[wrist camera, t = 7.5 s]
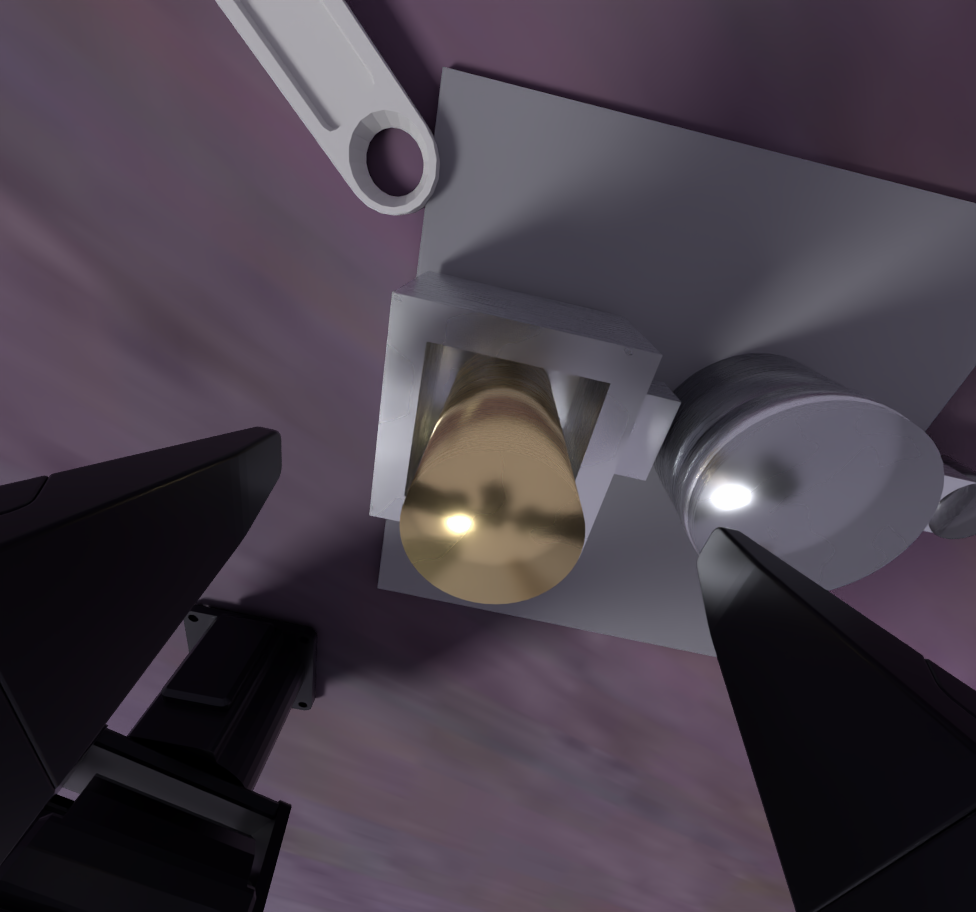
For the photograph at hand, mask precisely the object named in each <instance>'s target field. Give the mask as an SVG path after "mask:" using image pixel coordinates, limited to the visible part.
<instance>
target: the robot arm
mask: <svg viewBox="0 0 976 912" xmlns="http://www.w3.org/2000/svg"><path fill="white" fill-rule="evenodd" d="M281 468H282V457H281V436H280V433H279V432H278V431H276V430H273V429H268V428H263V427H253V428H248V429H244V430H240V431H236V432H231V433H227V434H223V435H218V436H214V437H210V438H205V439H201V440H197V441H192V442H188V443H184V444H179V445H175V446H171V447H166V448H162V449H158V450H153V451H149V452H145V453H140V454H136V455H132V456H127V457H123V458H119V459H114V460H110V461H106V462H101V463H97V464H93V465H88V466H84V467H80V468H75V469H71V470H67V471H62V472H58V473H54V474H51V475H50V476H49V477H47V476H40V477H36V478H32V479H27V480H23V481H19V482H14V483H10V484H5V485H1V486H0V912H263V910H264V907H265V903H266V899H267V896H268V892H269V888H270V885H271V881H272V877H273V873H274V870H275V866H276V862H277V859H278V855H279V851H280V847H281V844H282V840H283V836H284V833H285V829H286V825H287V822H288V818H289V814H290V810H291V804H288V803H286V802H284V801H281V800H280V801H278V802H277V801H274V800H272V799H270V798H268V797H265V796H263V795H261V794H258V793H256V792H254V791H253V789H254V787H255V785H256V783H257V781H258V779H259V776H260V774H261V772H262V770H263V768H264V766H265V764H266V761H267V759H268V757H269V755H270V753H271V751H272V749H273V746H274V744H275V742H276V740H277V738H278V736H279V733H280V731H281V729H282V727H283V725H284V723H285V721H286V718H287V716H288V714H289V712H290V710H291V708H295V709H300V710H309V709H311V707H312V705H313V702H314V700H315V677H316V650H317V633H316V632H315V630H313V629H312V628H309V627H305V626H300V625H295V624H290V623H285V622H280V621H275V620H270V619H265V618H260V617H255V616H250V615H245V614H240V613H235V612H230V611H225V610H220V609H215V608H209V607H204V606H199V605H195V603H196V602H197V601H198V599H199V598H200V597H201V595H202V594H203V593H204V591H205V590H206V589H207V587H208V586H209V585H210V583H211V582H212V581H213V579H214V578H215V577H216V575H217V574H218V573H219V571H220V570H221V569H222V567H223V566H224V565H225V563H226V562H227V561H228V559H229V558H230V557H231V555H232V554H233V552H234V551H235V550H236V548H237V547H238V546H239V544H240V543H241V541H242V540H243V539H244V537H245V536H246V534H247V532H248V531H249V529H250V527H251V526H252V524H253V522H254V520H255V519H256V517H257V515H258V513H259V512H260V510H261V508H262V507H263V505H264V503H265V501H266V500H267V498H268V496H269V494H270V493H271V491H272V489H273V487H274V486H275V484H276V482H277V480H278V479H279V476H280V473H281ZM697 571H698V577H699V582H700V587H701V592H702V597H703V602H704V607H705V612H706V618H707V623H708V627H709V631H710V635H711V639H712V642H713V646H714V649H715V652H716V656H717V659H718V662H719V665H720V669H721V672H722V675H723V678H724V681H725V685H726V688H727V691H728V694H729V698H730V701H731V704H732V707H733V711H734V714H735V717H736V720H737V723H738V727H739V730H740V733H741V736H742V740H743V743H744V746H745V749H746V752H747V756H748V759H749V762H750V765H751V769H752V772H753V775H754V778H755V782H756V785H757V788H758V791H759V794H760V798H761V801H762V804H763V807H764V811H765V814H766V817H767V820H768V823H769V827H770V830H771V833H772V836H773V840H774V843H775V846H776V849H777V853H778V856H779V859H780V862H781V865H782V869H783V872H784V875H785V878H786V882H787V885H788V888H789V891H790V894H791V898H792V901H793V904H794V907H795V911H796V912H976V691H975V690H974V689H972V688H971V687H969V686H968V685H966V684H965V683H963V682H962V681H960V680H959V679H957V678H956V677H954V676H953V675H951V674H950V673H948V672H947V671H945V670H944V669H942V668H941V667H939V666H938V665H936V664H935V663H933V662H932V661H930V660H929V659H924V657H923V655H921V654H920V653H918V652H917V651H916V650H914V649H913V648H911V647H910V646H908V645H907V644H905V643H904V642H902V641H901V640H899V639H898V638H896V637H895V636H893V635H892V634H890V633H889V632H888V631H886V630H885V629H883V628H882V627H880V626H879V625H877V624H876V623H874V622H873V621H871V620H870V619H868V618H867V617H865V616H864V615H862V614H861V613H860V612H858V611H857V610H855V609H854V608H852V607H851V606H849V605H848V604H846V603H845V602H843V601H842V600H840V599H839V598H837V597H836V596H834V595H833V594H832V593H830V592H829V591H827V590H826V589H824V588H823V587H821V586H820V585H818V584H817V583H815V582H814V581H812V580H811V579H809V578H808V577H806V576H805V575H804V574H802V573H801V572H799V571H798V570H796V569H795V568H793V567H792V566H790V565H789V564H787V563H786V562H784V561H783V560H781V559H780V558H778V557H777V556H776V555H774V554H773V553H771V552H770V551H768V550H767V549H765V548H764V547H762V546H761V545H759V544H758V543H756V542H755V541H753V540H752V539H750V538H749V537H748V536H746V535H745V534H743V533H742V532H740V531H738V530H734V529H730V528H725V527H718V528H716V529H715V530H713V532H712V533H711V535H710V537H709V538H708V540H707V542H706V544H705V545H704V547H703V549H702V551H701V552H700V554H699V556H698V559H697ZM183 619H184V624H185V630H186V636H187V642H188V647H189V654H188V655H187V656H186V658H185V659H184V660H183V662H182V663H181V664H180V666H179V667H178V668H177V670H176V671H175V672H174V674H173V675H172V676H171V678H170V679H169V680H168V682H167V683H166V684H165V686H164V687H163V688H162V690H161V692H160V693H159V694H158V696H157V697H156V698H155V700H154V701H153V702H152V704H151V705H150V706H149V707H148V709H147V710H146V711H145V713H144V714H143V715H142V717H141V718H140V719H139V721H138V722H137V723H136V725H135V726H134V727H133V729H132V730H131V731H130V733H129V734H128V735H127V737H126V736H124V735H122V734H120V733H117V732H115V731H113V730H110V729H108V728H107V726H108V725H106V723H107V721H108V720H109V719H110V717H111V716H112V715H113V713H114V712H115V710H116V709H117V708H118V706H119V705H120V704H121V702H122V701H123V700H124V698H125V697H126V696H127V694H128V693H129V692H130V690H131V689H132V688H133V686H134V685H135V684H136V682H137V681H138V680H139V678H140V677H141V676H142V674H143V673H144V672H145V670H146V669H147V668H148V666H149V665H150V664H151V662H152V661H153V660H154V658H155V657H156V656H157V654H158V653H159V652H160V650H161V649H162V648H163V646H164V645H165V644H166V642H167V641H168V640H169V638H170V637H171V636H172V634H173V633H174V631H175V630H176V629H177V627H178V626H179V625H180V623H181V622H182V621H183ZM62 787H63V788H66V789H69V790H71V791H74V792H76V793H79V794H80V795H79V796H78V798H77V799H76V800H75V801H73V800H70V799H68V798H65V797H62V796H60V795H57V793H58V792H59V791H60V790H61V788H62Z"/></svg>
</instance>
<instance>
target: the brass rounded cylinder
mask: <svg viewBox="0 0 976 912" xmlns="http://www.w3.org/2000/svg"><path fill="white" fill-rule="evenodd" d="M399 527H400V536H401V540H402V544H403V547H404V550H405V552H406V555H407V556H408V558H409V560H410V561H411V563H412V564H413V566H414V567H415V568H416V570H417V571H418V572H419V573H420V574H421V575H422V576H423V577H424V578H425V579H426V580H427V581H429V582H430V583H431V584H433V585H434V586H435V587H437V588H439V589H440V590H442V591H444V592H446V593H448V594H450V595H452V596H455V597H457V598H460V599H463V600H467V601H471V602H476V603H483V604H508V603H515V602H520V601H524V600H528V599H530V598H533V597H536V596H538V595H540V594H542V593H544V592H546V591H548V590H550V589H551V588H553V587H554V586H556V585H557V584H558V583H559V582H560V581H562V580H563V579H564V578H565V577H566V576H567V575H568V574H569V572H570V571H571V570H572V569H573V567H574V566H575V564H576V563H577V561H578V559H579V556H580V554H581V552H582V549H583V545H584V540H585V520H584V515H583V510H582V506H581V502H580V498H579V494H578V490H577V487H576V483H575V479H574V475H573V471H572V467H571V463H570V459H569V455H568V451H567V447H566V443H565V439H564V435H563V431H562V427H561V423H560V420H559V416H558V412H557V408H556V404H555V400H554V396H553V392H552V388H551V384H550V381H549V378H548V375H547V373H546V371H545V370H544V368H541V367H536V366H532V365H528V364H523V363H519V362H515V361H510V360H506V359H502V358H497V357H493V356H488V355H484V354H480V353H476V354H475V355H473V356H472V357H470V358H469V359H468V360H467V361H466V362H465V363H464V364H463V366H462V367H461V368H460V370H459V372H458V373H457V376H456V378H455V380H454V383H453V385H452V388H451V390H450V392H449V395H448V397H447V400H446V402H445V404H444V407H443V409H442V412H441V414H440V416H439V419H438V421H437V424H436V426H435V428H434V431H433V433H432V436H431V438H430V440H429V443H428V445H427V448H426V450H425V452H424V455H423V457H422V460H421V462H420V464H419V467H418V469H417V472H416V474H415V476H414V479H413V481H412V484H411V486H410V488H409V491H408V493H407V496H406V498H405V500H404V503H403V505H402V509H401V514H400V524H399Z"/></svg>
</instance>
